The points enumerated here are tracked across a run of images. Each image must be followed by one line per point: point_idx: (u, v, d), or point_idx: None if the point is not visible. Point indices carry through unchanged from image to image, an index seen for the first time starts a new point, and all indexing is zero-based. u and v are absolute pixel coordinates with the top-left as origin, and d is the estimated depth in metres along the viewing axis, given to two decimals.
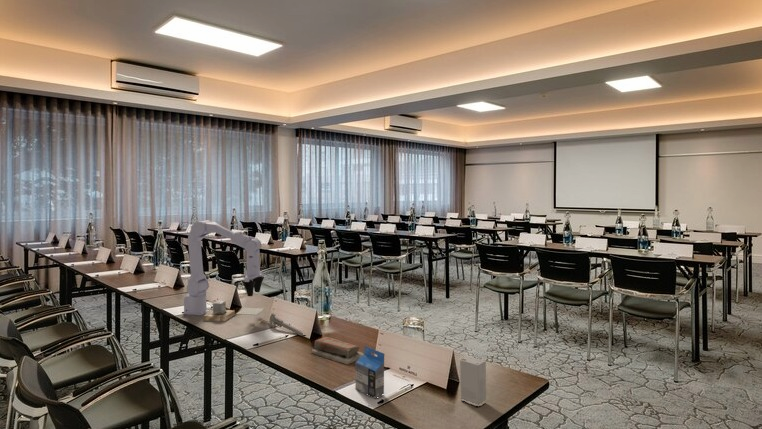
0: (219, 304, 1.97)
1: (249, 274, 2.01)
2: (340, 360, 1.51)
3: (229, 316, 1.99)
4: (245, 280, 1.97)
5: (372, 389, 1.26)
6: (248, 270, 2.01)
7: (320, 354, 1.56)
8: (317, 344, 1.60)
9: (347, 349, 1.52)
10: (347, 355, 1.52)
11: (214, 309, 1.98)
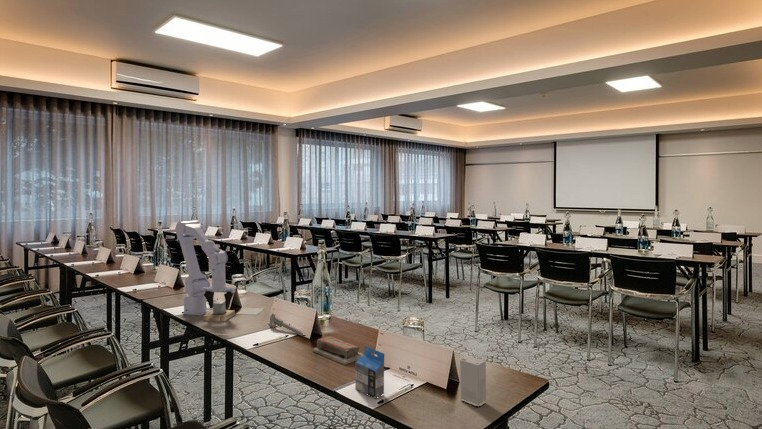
0: (219, 304, 1.97)
1: None
2: (338, 360, 1.51)
3: (229, 316, 1.99)
4: None
5: (372, 389, 1.26)
6: None
7: (321, 353, 1.57)
8: (319, 343, 1.61)
9: (346, 349, 1.52)
10: (345, 355, 1.51)
11: (214, 309, 1.98)
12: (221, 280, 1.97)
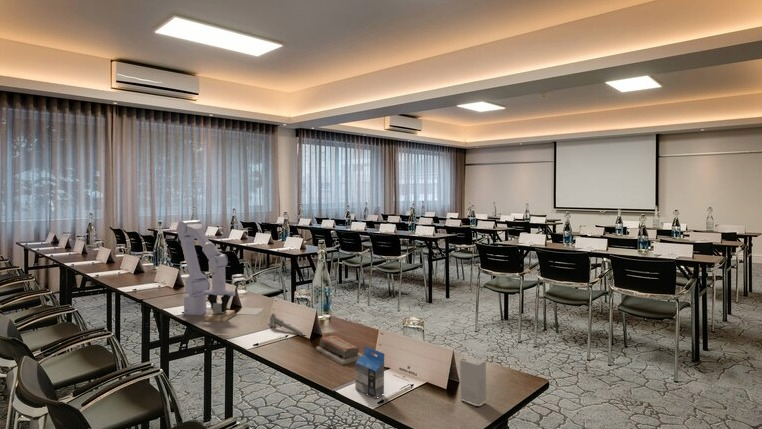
0: (219, 304, 1.97)
1: None
2: (336, 360, 1.51)
3: (229, 316, 1.99)
4: None
5: (372, 389, 1.26)
6: None
7: (322, 352, 1.59)
8: (322, 342, 1.63)
9: (344, 349, 1.52)
10: (343, 355, 1.51)
11: (214, 309, 1.98)
12: (221, 283, 1.97)
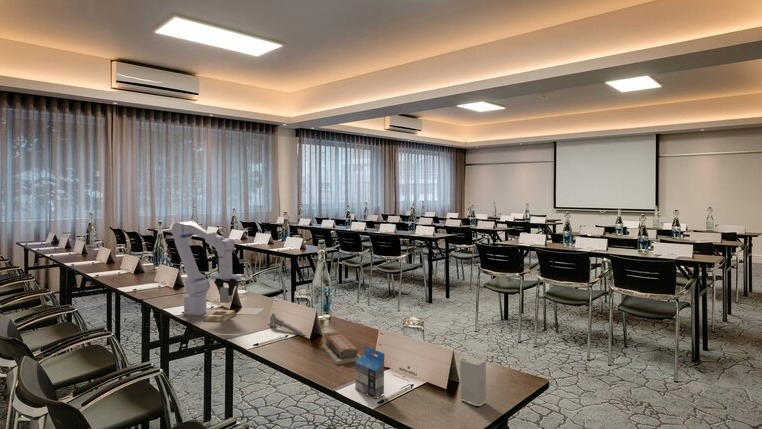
0: (226, 288, 1.99)
1: None
2: (333, 359, 1.52)
3: (229, 316, 1.99)
4: None
5: (372, 389, 1.26)
6: None
7: (325, 350, 1.60)
8: (328, 340, 1.64)
9: (340, 349, 1.52)
10: (340, 355, 1.51)
11: (221, 293, 1.99)
12: (228, 267, 1.98)
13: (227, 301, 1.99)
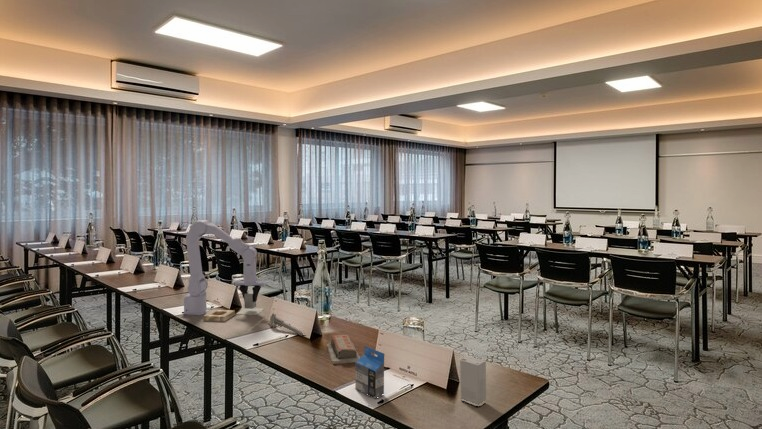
0: (250, 294, 2.07)
1: None
2: (331, 358, 1.52)
3: (229, 316, 1.99)
4: None
5: (372, 389, 1.26)
6: None
7: (328, 349, 1.62)
8: None
9: (338, 349, 1.52)
10: (337, 355, 1.51)
11: (245, 299, 2.07)
12: (252, 274, 2.06)
13: (251, 307, 2.07)
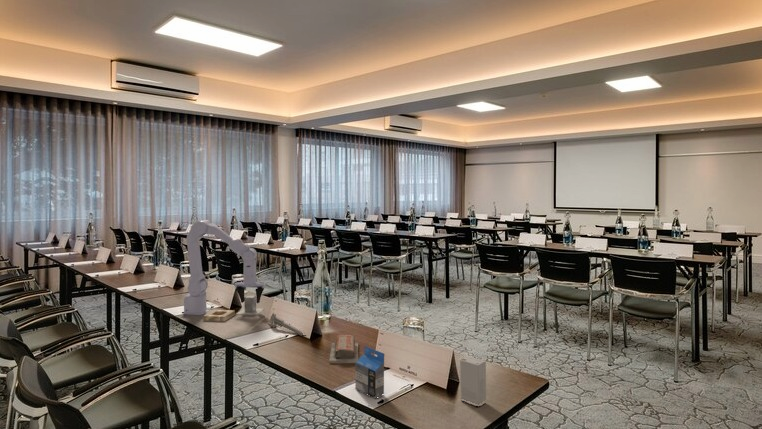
0: (250, 298, 2.07)
1: None
2: None
3: (229, 316, 1.99)
4: None
5: (372, 389, 1.26)
6: None
7: None
8: None
9: (336, 349, 1.52)
10: (335, 355, 1.52)
11: (245, 303, 2.07)
12: (252, 276, 2.06)
13: (251, 311, 2.07)
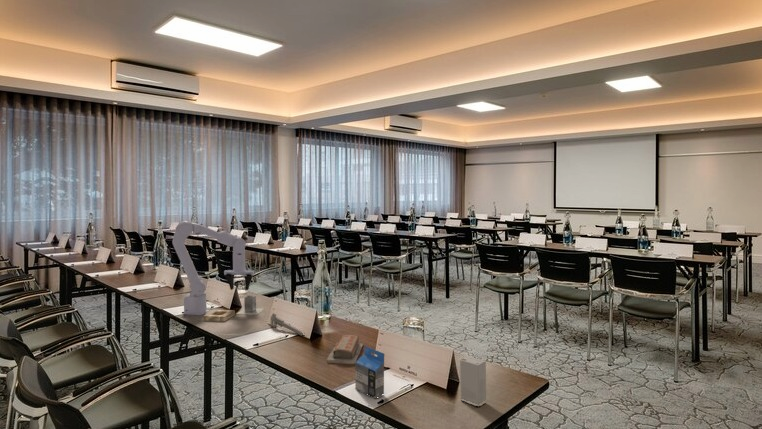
0: (250, 298, 2.07)
1: None
2: None
3: (229, 316, 1.99)
4: None
5: (372, 389, 1.26)
6: None
7: None
8: None
9: (335, 349, 1.52)
10: (333, 354, 1.52)
11: (245, 303, 2.07)
12: (242, 263, 2.13)
13: (251, 311, 2.07)
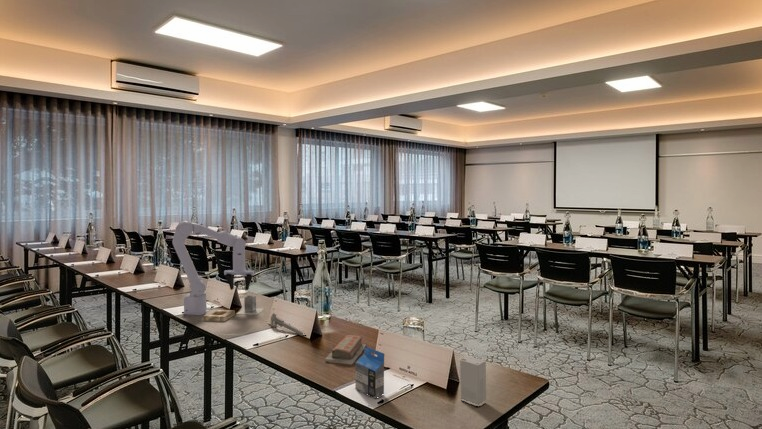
0: (250, 298, 2.07)
1: None
2: None
3: (229, 316, 1.99)
4: None
5: (372, 389, 1.26)
6: None
7: None
8: None
9: (333, 348, 1.53)
10: None
11: (245, 303, 2.07)
12: (242, 263, 2.13)
13: (251, 311, 2.07)
